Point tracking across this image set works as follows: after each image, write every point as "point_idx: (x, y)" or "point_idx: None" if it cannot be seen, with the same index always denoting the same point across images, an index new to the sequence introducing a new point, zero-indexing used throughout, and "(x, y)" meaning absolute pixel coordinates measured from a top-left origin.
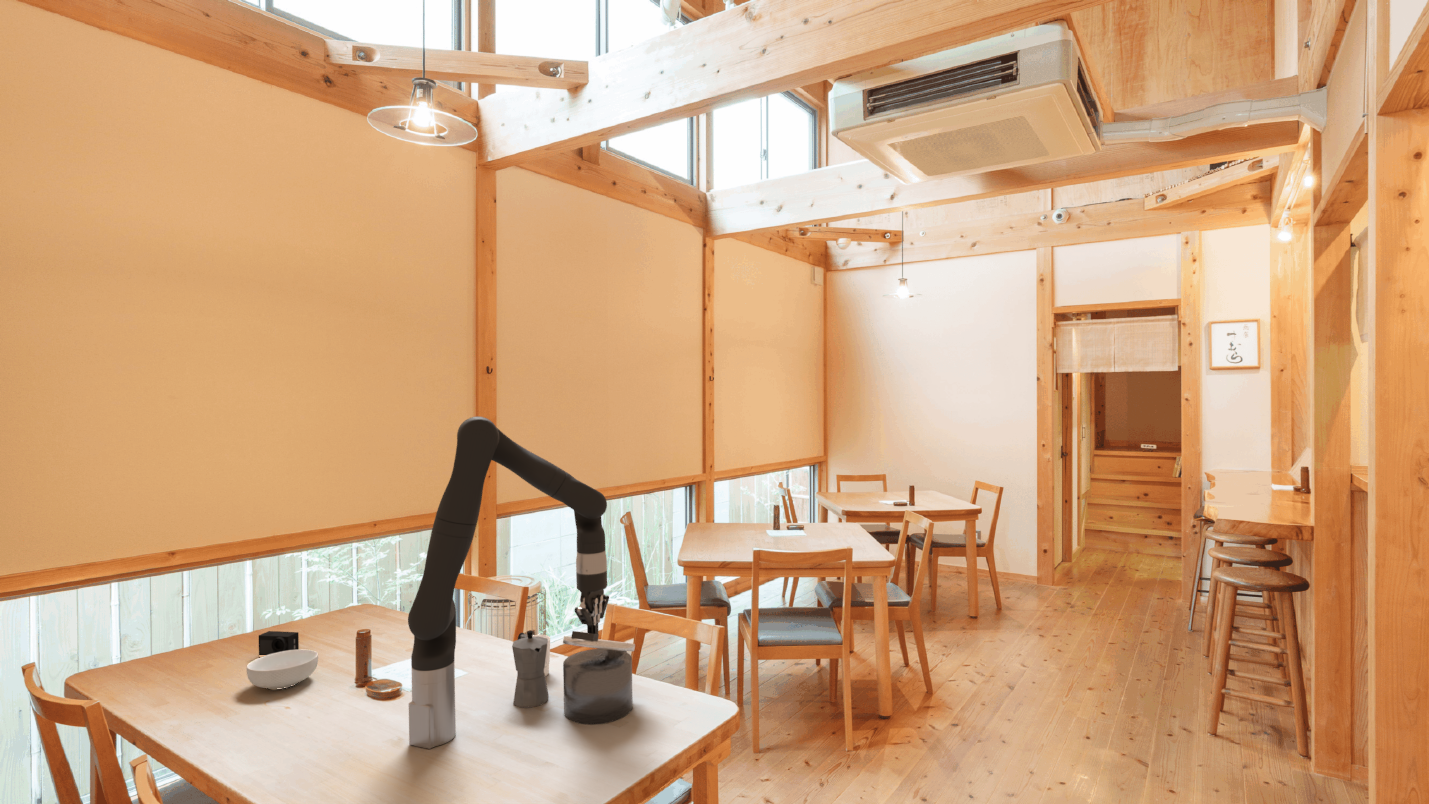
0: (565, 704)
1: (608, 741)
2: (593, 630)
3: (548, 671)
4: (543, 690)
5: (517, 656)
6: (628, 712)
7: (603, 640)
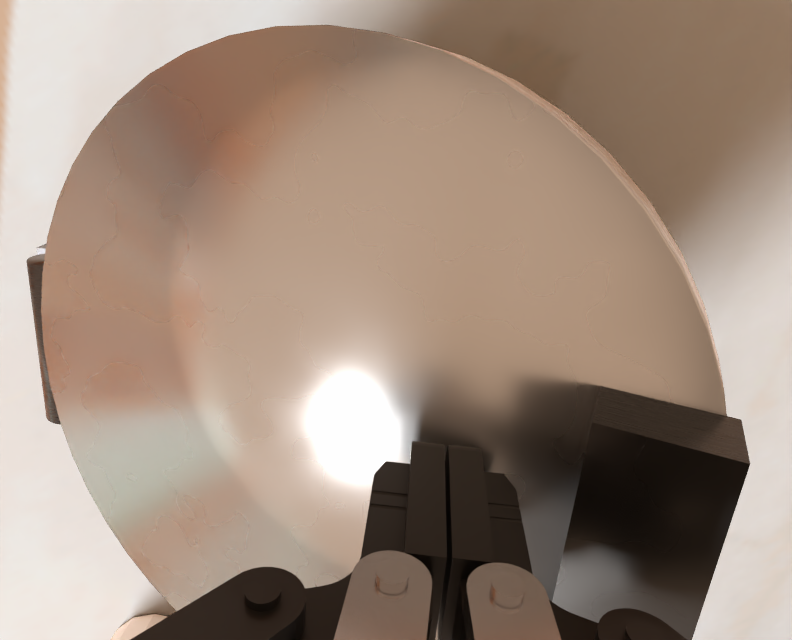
0: None
1: (740, 46)
2: (492, 533)
3: (135, 623)
4: None
5: None
6: None
7: (223, 417)
